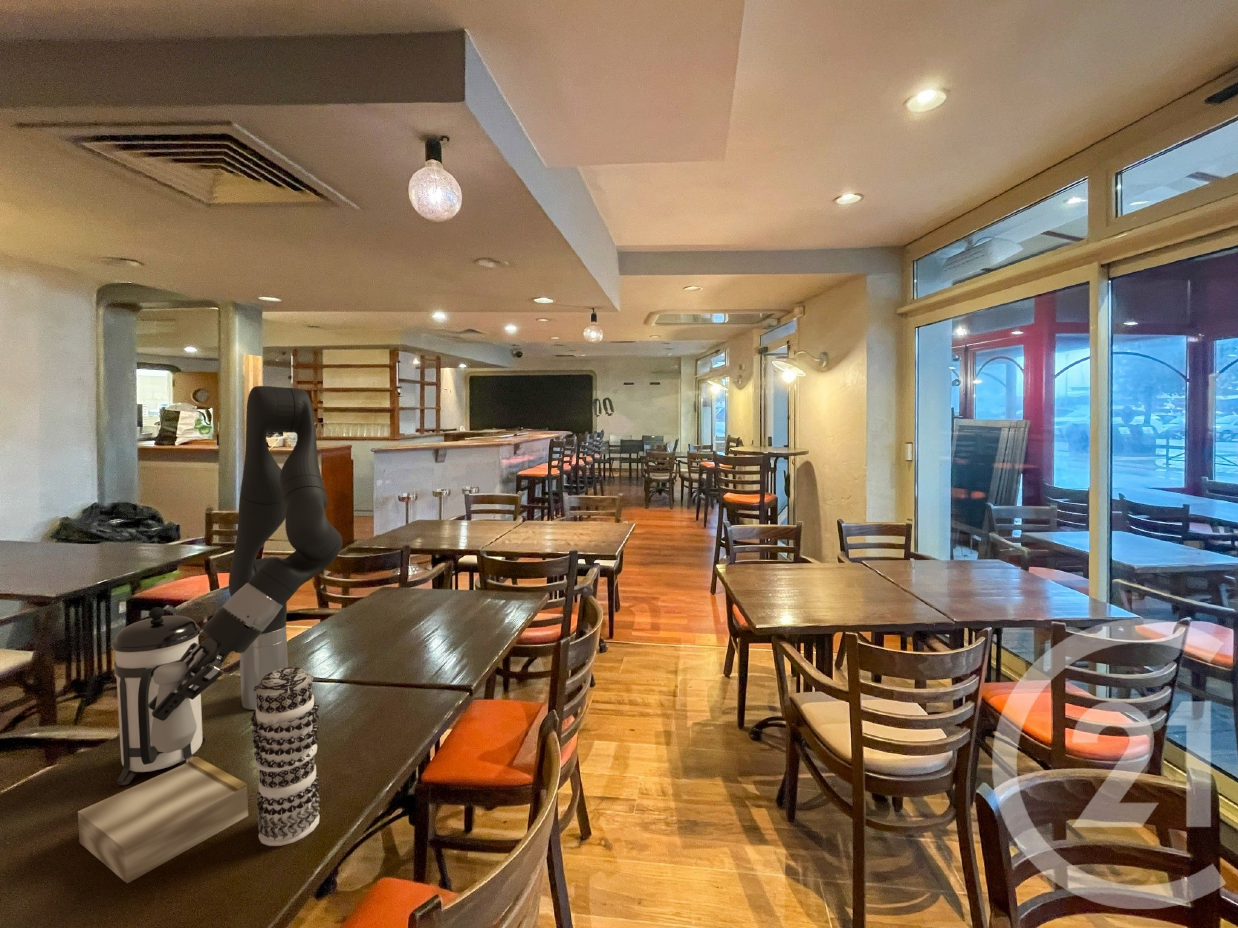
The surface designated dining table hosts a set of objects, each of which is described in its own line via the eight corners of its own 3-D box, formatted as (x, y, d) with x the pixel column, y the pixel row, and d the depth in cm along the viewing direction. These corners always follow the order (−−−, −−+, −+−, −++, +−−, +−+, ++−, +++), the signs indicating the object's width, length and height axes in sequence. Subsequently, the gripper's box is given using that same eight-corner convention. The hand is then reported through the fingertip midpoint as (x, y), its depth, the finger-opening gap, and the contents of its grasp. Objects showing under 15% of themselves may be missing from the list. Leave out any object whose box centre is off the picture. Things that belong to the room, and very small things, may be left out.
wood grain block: (79, 842, 87) (77, 808, 87) (197, 785, 101) (196, 756, 101) (127, 883, 80) (125, 846, 79) (248, 815, 93) (246, 783, 93)
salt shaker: (171, 758, 87) (167, 674, 86) (141, 753, 88) (136, 671, 87) (206, 737, 92) (202, 659, 91) (177, 733, 94) (173, 656, 93)
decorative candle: (294, 851, 86) (288, 689, 84) (240, 843, 87) (234, 684, 86) (335, 811, 95) (330, 663, 93) (285, 804, 96) (280, 659, 95)
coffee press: (85, 780, 103) (75, 616, 101) (181, 735, 118) (174, 592, 116) (145, 803, 96) (136, 629, 95) (238, 753, 111) (232, 602, 109)
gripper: (215, 596, 99) (126, 688, 91) (235, 615, 89) (138, 719, 81) (251, 619, 103) (170, 708, 95) (275, 639, 93) (186, 740, 85)
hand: (156, 713), depth 88 cm, fingers closed on salt shaker, 3 cm apart
